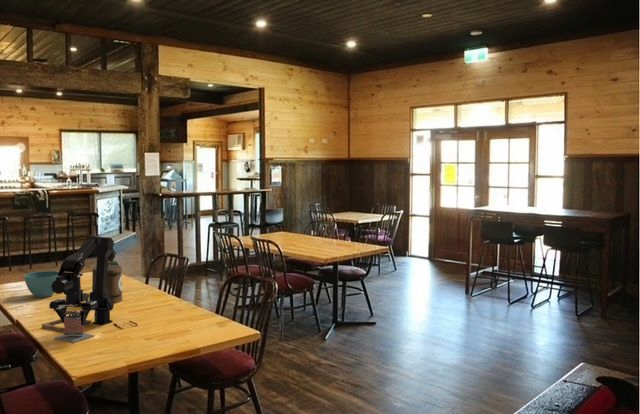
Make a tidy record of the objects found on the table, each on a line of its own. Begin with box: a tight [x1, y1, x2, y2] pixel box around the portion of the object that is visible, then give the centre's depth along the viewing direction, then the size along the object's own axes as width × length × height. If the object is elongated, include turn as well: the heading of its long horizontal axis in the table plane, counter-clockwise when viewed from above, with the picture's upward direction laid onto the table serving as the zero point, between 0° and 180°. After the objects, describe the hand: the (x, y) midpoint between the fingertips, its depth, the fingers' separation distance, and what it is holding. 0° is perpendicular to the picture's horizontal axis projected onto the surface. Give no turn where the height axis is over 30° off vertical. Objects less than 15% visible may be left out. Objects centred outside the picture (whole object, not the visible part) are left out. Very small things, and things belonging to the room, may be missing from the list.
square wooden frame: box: [41, 318, 92, 333], centre depth 246 cm, size 14×14×2 cm
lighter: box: [63, 310, 85, 336], centre depth 229 cm, size 8×3×10 cm, turn 93°
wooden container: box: [91, 260, 123, 304], centre depth 291 cm, size 15×15×22 cm
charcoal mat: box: [53, 332, 95, 344], centre depth 230 cm, size 12×10×1 cm
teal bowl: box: [23, 270, 59, 299], centre depth 301 cm, size 18×18×12 cm
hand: (74, 324), depth 230 cm, fingers closed on lighter, 8 cm apart
